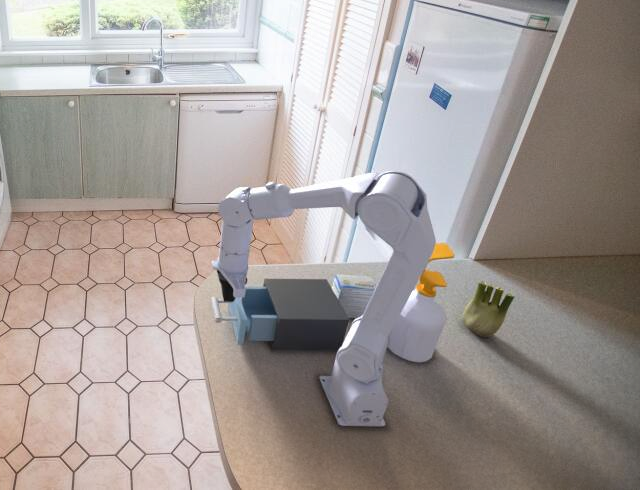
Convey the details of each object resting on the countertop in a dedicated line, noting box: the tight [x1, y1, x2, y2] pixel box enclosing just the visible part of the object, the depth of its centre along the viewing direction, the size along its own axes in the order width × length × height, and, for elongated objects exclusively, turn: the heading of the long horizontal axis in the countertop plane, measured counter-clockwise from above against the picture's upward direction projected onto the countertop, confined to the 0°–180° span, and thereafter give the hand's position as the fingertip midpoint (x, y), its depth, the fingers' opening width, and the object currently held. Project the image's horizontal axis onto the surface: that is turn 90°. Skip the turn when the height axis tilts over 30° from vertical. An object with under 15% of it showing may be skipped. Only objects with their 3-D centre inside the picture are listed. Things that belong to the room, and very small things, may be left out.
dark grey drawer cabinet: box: [262, 278, 350, 352], centre depth 95 cm, size 14×12×9 cm
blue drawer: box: [210, 285, 278, 345], centre depth 95 cm, size 17×10×7 cm, turn 89°
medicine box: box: [331, 274, 377, 319], centre depth 99 cm, size 8×4×9 cm, turn 84°
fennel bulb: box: [461, 280, 516, 338], centre depth 94 cm, size 6×5×12 cm
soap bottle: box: [387, 242, 455, 363], centre depth 88 cm, size 9×9×25 cm
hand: (228, 299), depth 94 cm, fingers closed
